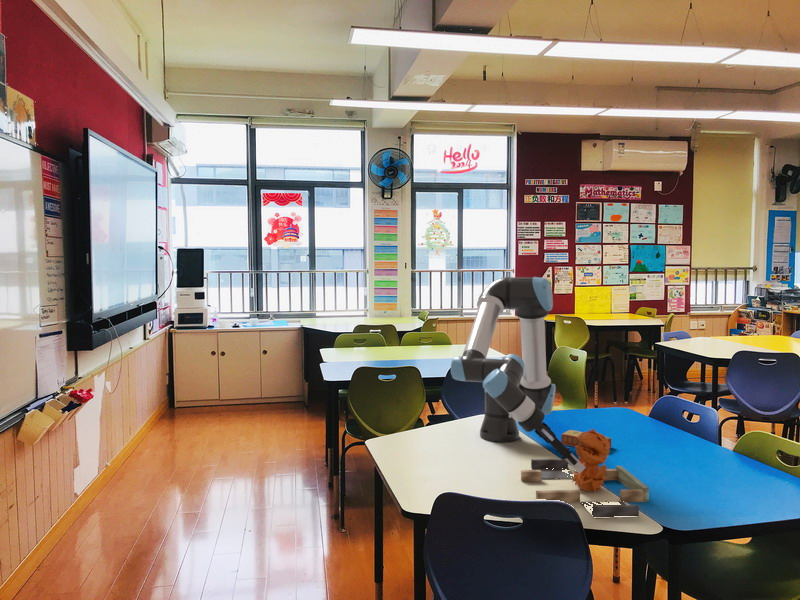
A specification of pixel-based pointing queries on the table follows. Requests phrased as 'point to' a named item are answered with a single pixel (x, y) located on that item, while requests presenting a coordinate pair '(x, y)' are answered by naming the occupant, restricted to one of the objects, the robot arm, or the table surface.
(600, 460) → the orange sculpted figure
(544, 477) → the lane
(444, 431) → the table surface
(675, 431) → the table surface
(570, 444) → the carton
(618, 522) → the table surface
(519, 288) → the robot arm
